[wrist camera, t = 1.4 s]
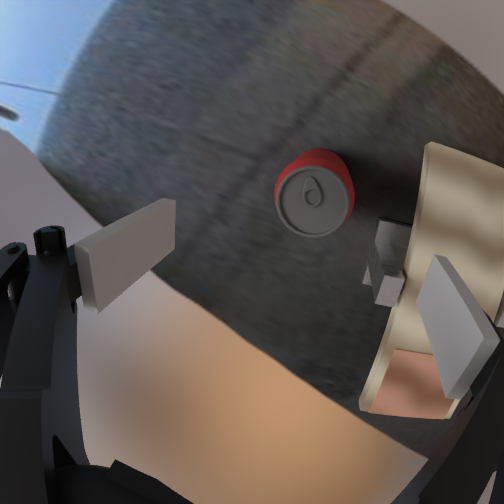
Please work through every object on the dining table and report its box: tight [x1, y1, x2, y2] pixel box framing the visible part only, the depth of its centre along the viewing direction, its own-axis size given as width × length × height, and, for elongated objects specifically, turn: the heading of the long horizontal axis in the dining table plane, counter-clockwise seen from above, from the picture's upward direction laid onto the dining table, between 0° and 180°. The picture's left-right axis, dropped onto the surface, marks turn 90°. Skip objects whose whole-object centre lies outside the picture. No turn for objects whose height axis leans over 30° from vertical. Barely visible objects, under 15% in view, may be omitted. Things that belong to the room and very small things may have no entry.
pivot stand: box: [362, 217, 504, 328], centre depth 29 cm, size 8×17×10 cm, turn 83°
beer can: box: [275, 149, 355, 238], centre depth 28 cm, size 7×7×12 cm
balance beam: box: [359, 142, 504, 419], centre depth 26 cm, size 28×12×2 cm, turn 173°
